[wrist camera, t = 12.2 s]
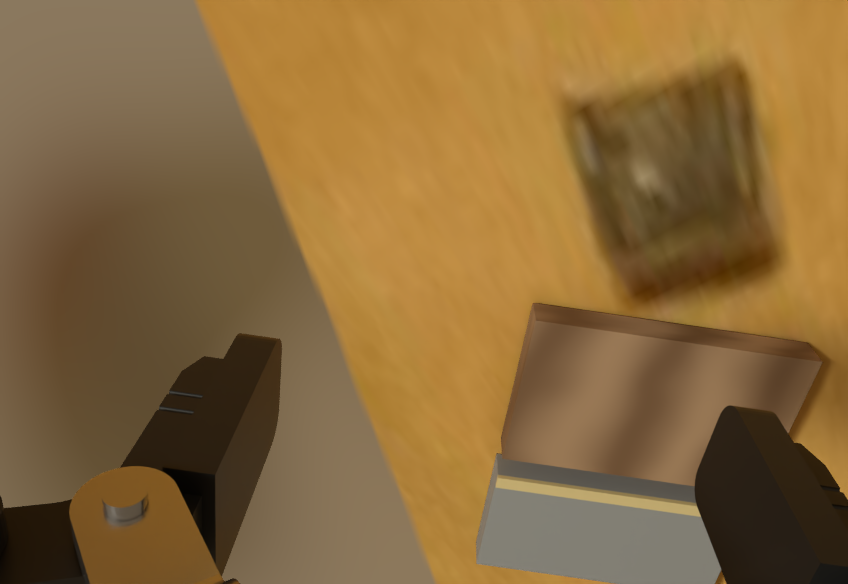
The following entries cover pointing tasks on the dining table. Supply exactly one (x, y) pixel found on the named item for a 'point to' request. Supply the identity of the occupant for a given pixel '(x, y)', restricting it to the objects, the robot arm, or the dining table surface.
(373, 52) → the dining table surface
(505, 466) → the board
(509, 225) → the dining table surface
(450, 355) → the dining table surface
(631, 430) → the walnut plank
